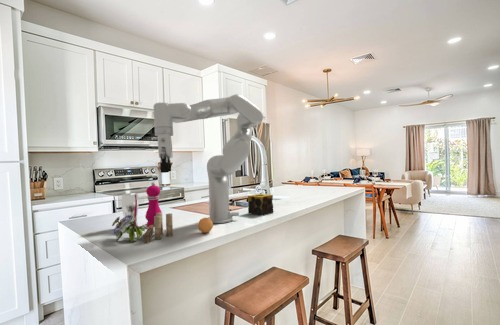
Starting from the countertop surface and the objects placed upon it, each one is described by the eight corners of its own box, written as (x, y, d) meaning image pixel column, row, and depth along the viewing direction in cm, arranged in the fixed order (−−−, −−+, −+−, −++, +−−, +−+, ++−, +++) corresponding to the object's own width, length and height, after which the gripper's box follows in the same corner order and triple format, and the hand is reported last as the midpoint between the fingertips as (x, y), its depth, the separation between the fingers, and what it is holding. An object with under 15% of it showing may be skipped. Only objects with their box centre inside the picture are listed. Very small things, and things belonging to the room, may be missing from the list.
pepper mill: (165, 223, 123) (164, 181, 123) (158, 227, 116) (157, 182, 116) (150, 223, 124) (149, 181, 124) (142, 227, 117) (141, 182, 117)
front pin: (172, 234, 104) (172, 213, 104) (172, 236, 102) (172, 214, 102) (166, 235, 104) (166, 213, 104) (166, 236, 101) (165, 214, 101)
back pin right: (163, 233, 106) (162, 212, 106) (162, 234, 104) (162, 213, 104) (156, 233, 106) (156, 212, 106) (156, 235, 103) (155, 214, 103)
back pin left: (161, 237, 100) (161, 215, 100) (161, 239, 98) (160, 216, 98) (155, 238, 100) (154, 215, 100) (154, 239, 97) (153, 217, 97)
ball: (212, 230, 110) (211, 215, 110) (213, 233, 104) (213, 218, 104) (197, 231, 108) (197, 216, 108) (198, 235, 102) (198, 220, 102)
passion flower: (118, 255, 98) (106, 227, 101) (146, 242, 105) (134, 217, 109) (123, 244, 90) (110, 214, 94) (153, 231, 98) (140, 204, 101)
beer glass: (135, 224, 122) (134, 192, 122) (141, 227, 118) (140, 193, 117) (119, 227, 118) (118, 194, 118) (125, 230, 113) (124, 195, 113)
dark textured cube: (273, 213, 143) (273, 194, 143) (261, 216, 136) (261, 196, 136) (259, 210, 150) (259, 193, 150) (247, 213, 143) (247, 195, 143)
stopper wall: (153, 232, 108) (153, 224, 108) (148, 242, 94) (148, 234, 94) (149, 232, 108) (149, 225, 108) (144, 243, 94) (143, 234, 94)
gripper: (171, 129, 105) (173, 172, 105) (174, 133, 122) (176, 170, 122) (151, 130, 103) (153, 173, 104) (157, 134, 120) (159, 171, 120)
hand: (166, 171), depth 113 cm, fingers open, 9 cm apart
